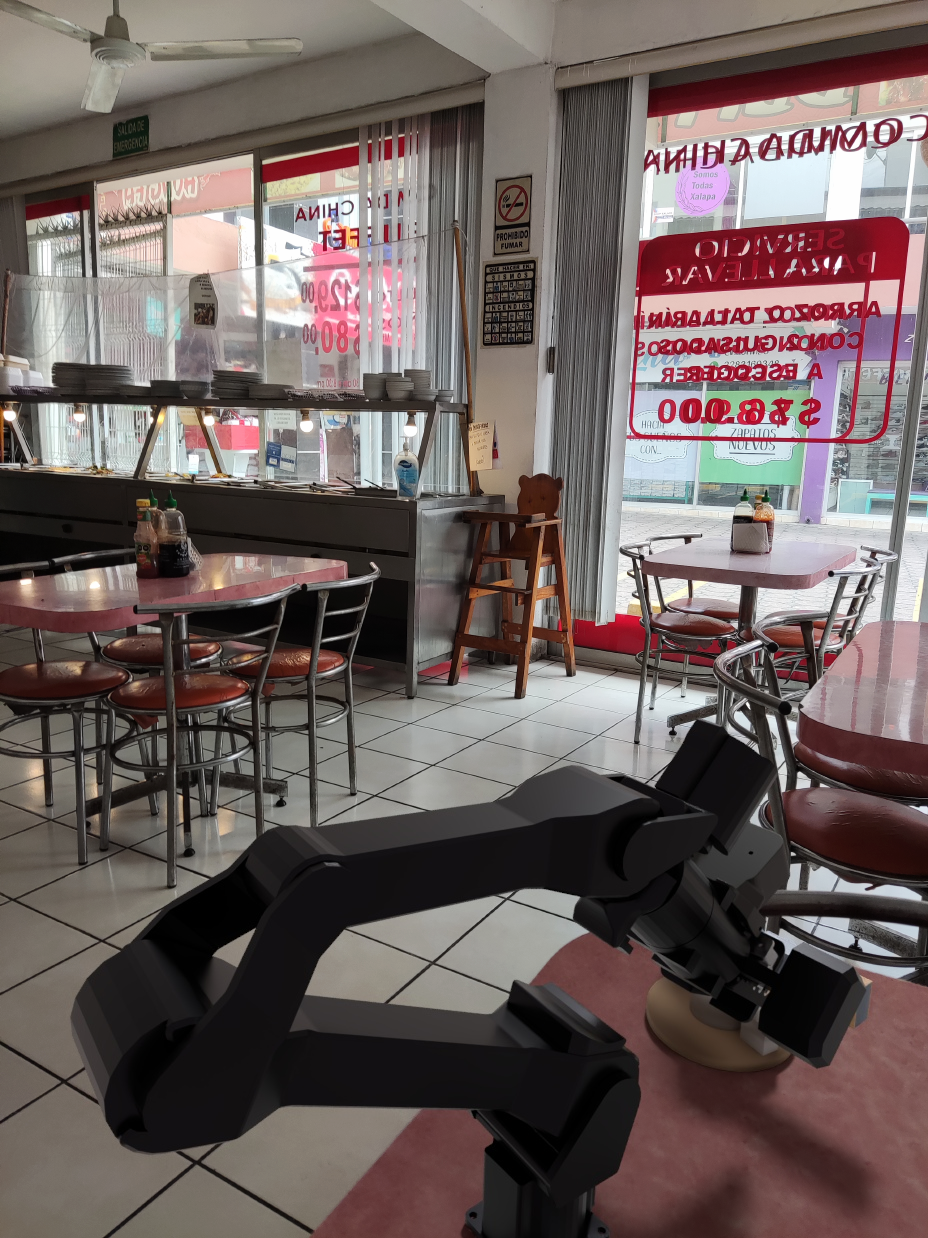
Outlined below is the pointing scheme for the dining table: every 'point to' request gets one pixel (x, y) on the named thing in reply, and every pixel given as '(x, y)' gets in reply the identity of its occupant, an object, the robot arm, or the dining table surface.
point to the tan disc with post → (708, 1031)
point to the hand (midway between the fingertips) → (755, 997)
